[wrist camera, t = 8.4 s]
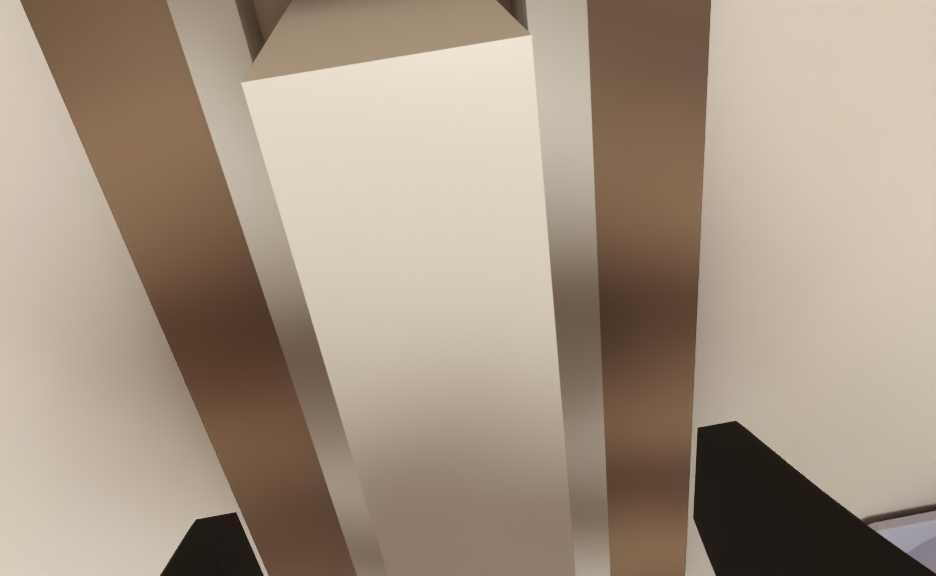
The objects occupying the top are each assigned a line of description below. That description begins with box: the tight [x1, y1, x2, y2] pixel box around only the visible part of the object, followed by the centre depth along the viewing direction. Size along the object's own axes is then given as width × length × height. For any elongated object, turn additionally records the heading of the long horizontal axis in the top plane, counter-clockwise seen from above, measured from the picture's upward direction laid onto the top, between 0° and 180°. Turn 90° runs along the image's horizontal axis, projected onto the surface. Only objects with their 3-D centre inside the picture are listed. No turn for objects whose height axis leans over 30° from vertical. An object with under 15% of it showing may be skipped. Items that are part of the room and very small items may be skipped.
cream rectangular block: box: [241, 0, 576, 576], centre depth 13 cm, size 14×3×8 cm, turn 8°
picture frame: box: [20, 0, 711, 576], centre depth 16 cm, size 24×12×2 cm, turn 8°
